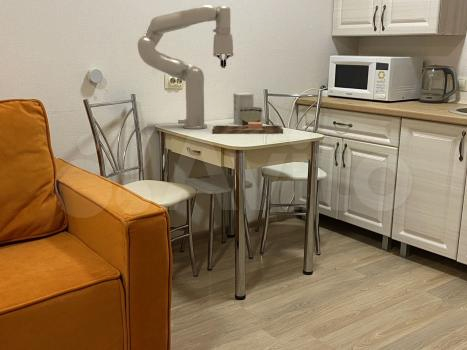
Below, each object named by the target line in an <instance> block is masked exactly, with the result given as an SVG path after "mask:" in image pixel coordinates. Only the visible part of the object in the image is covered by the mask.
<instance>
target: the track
mask: <svg viewBox="0 0 467 350" xmlns="http://www.w3.org/2000/svg"><path fill="white" fill-rule="evenodd" d="M279 133H281V134H280V135H282V134H284V128H283V126H282V125H262V129H248V126H242V125H213V126H212V132H211V134H212V135H213V134H221V135H222V134H225V135H227V134H235V135H236V134H237V135H238V134H240V135H241V134H245V135H247V134H254V135H255V134H257V135H258V134H259V135H260V134H261V135H262V134H263V135H265V134H266V135H267V134H270V135H271V134H272V135H275V134H278V135H279Z"/></svg>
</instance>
